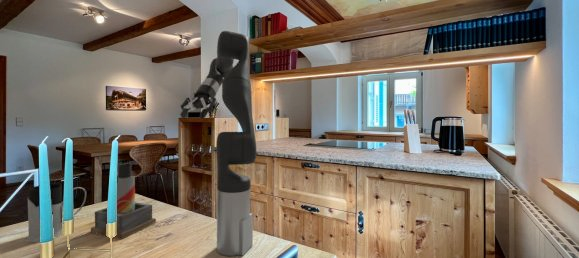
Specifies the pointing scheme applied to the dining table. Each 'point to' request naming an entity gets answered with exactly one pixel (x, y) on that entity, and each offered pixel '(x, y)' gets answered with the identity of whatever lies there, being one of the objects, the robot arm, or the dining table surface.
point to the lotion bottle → (125, 189)
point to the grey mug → (56, 209)
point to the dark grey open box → (125, 221)
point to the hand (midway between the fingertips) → (191, 117)
